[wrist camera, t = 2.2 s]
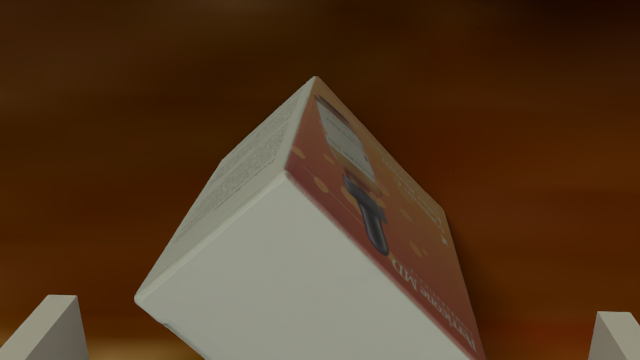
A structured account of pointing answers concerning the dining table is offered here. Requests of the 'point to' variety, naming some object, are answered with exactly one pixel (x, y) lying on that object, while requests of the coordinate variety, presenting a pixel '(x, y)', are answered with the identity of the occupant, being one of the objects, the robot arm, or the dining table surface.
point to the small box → (313, 251)
